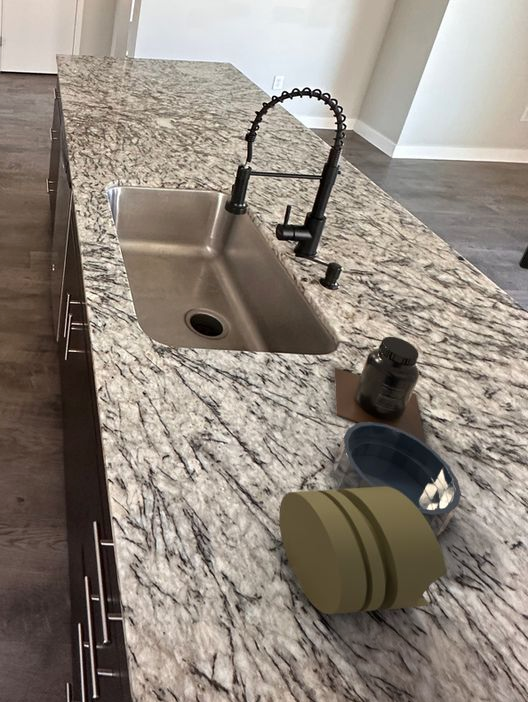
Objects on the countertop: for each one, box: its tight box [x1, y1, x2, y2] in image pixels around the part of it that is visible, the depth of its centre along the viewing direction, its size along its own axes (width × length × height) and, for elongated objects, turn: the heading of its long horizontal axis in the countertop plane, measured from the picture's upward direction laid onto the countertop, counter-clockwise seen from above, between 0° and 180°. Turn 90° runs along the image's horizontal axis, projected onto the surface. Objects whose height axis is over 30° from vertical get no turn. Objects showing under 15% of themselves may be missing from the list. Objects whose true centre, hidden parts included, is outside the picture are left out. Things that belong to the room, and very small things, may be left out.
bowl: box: [333, 422, 462, 538], centre depth 73 cm, size 13×13×6 cm
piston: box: [278, 486, 448, 615], centre depth 62 cm, size 11×12×11 cm
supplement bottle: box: [355, 336, 420, 420], centre depth 85 cm, size 7×7×12 cm
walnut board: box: [333, 367, 427, 445], centre depth 88 cm, size 12×11×1 cm
